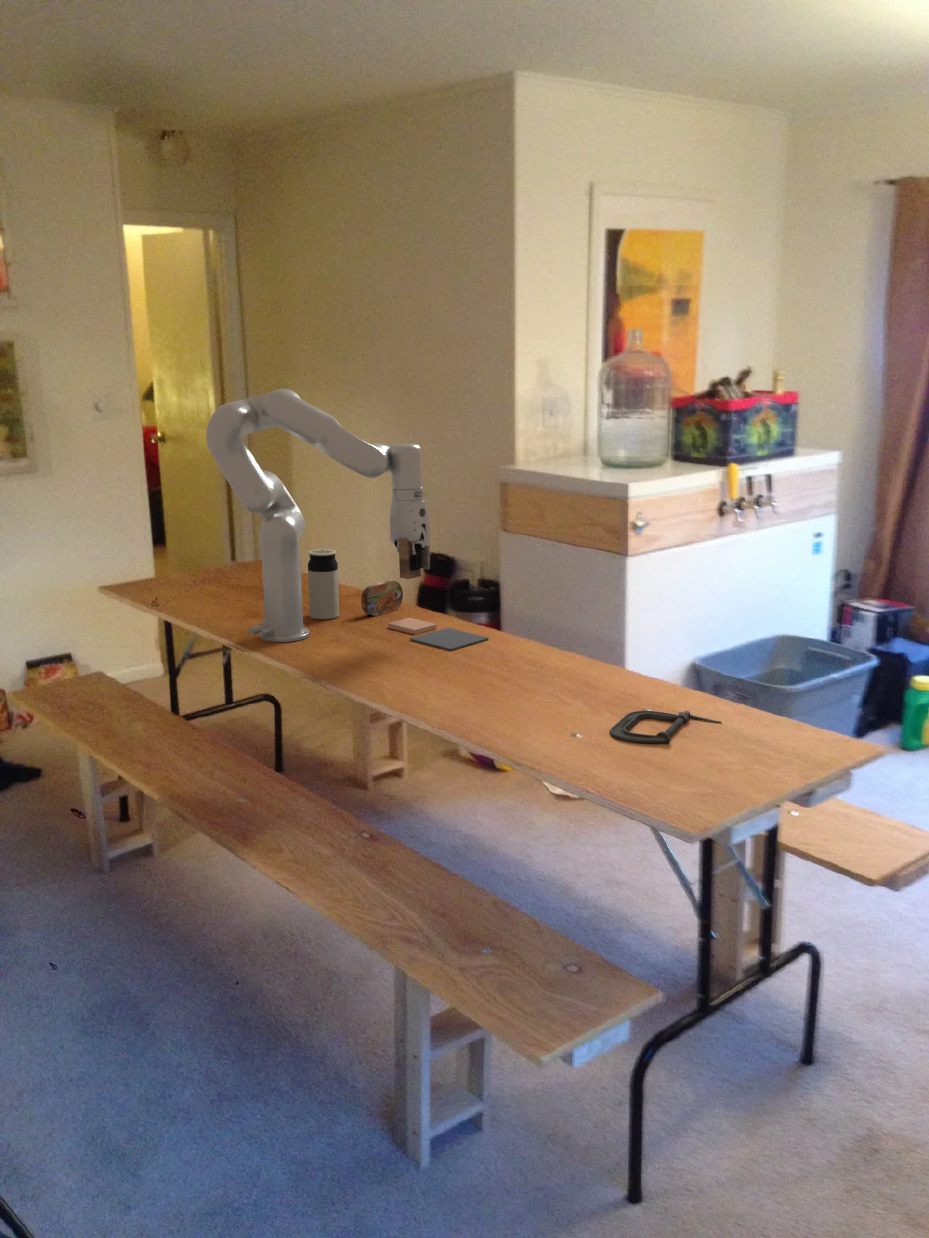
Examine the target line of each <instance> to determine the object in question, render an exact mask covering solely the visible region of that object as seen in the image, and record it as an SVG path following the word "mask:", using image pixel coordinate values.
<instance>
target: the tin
mask: <svg viewBox="0 0 929 1238" xmlns="http://www.w3.org/2000/svg"><path fill="white" fill-rule="evenodd" d="M403 598H404V592H403V588H402V585H401V584H400V583H399V582H398V581H396V580H386V581H382V582H378V583H376V584H375V583H374V584H371V585H369V586H366V587H365V588H364V589H363V592H362V593H361V597H360V599H361V600H360V602H361V608H362V611H363V613H364V614H366V615H368V616H374V617H378V616H381V615H384V614H387V613H391V612H394V611H397V610H398V609H399V608H400V607H401V605H402V602H403Z"/></svg>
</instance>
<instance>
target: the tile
mask: <svg viewBox="0 0 929 1238" xmlns="http://www.w3.org/2000/svg"><path fill="white" fill-rule="evenodd" d="M437 626H438V625H437V623H433V622H429V621H426V620H421V619H418V618H417V619H416V618H413V617H407V618H402V619H399V620H395V621H392V622H391V621H390V622H388V623H387V628H388V629H391V630H396V631H399V632H403V633H407V634H410V635H418V634H422V633H426V632H430V631H433V630H432V629H434V630H437V629H436V628H438V627H437ZM429 630H430V631H429Z"/></svg>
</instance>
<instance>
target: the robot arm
mask: <svg viewBox="0 0 929 1238" xmlns="http://www.w3.org/2000/svg"><path fill="white" fill-rule="evenodd" d="M275 427H276V428H279V429H281V430H283V431H284V432H287V433H288V434H290V435H292V436H293V437H296V438H298V439H300V440H301V441H303V442H304V443H307V444H308V445H309V446H312V447H314V448H316V449H317V450H318V451H320V452H321V453H323V454H324V455H327V456H328V457H329V458H331V459H332V460H334V461H335V462H338V463H339V464H341V465H342V466H344V467H346V468H348V469H350V470H351V471H354V472H355V473H357V474H358V475H360V476H361V475H362V476H363V477H366V478H368V479H369V478H370V479H376V478H379V477H381V476H383V475H384V474H385V473H390V475H391V491H392V492H391V493H392V494H391V497H392V499H391V501H390V514H389V532H390V536H389V538H388V539H389V541H390V542H391V543H392V544H393V545H394V546H395V548H396V552H397V553H398V554H399V540H398V538H404V539H408V541H409V542H411V551H412V554H411V555H410V567H411V570H412V571H414V570H418V569H421V570H422V568H421V553H422V552H423V550H424V548H425V547H427V546H429V547H430V546H431V541H430V539H431V525H430V524H431V523H430V516H429V510H428V505H427V502H426V500H424V498H425V495H426V493H425V492H424V485H423V484H424V482H423V481H424V480H423V455H422V453H423V452H422V448H421V446H420V445H419V444H417V443H399V444H387V443H379V442H378V443H377V442H376V443H375V442H373V443H371V444H370V443H368V442H367V441H365V440H362V439H361V438H359V437H358V436H355V434H353V433H351V432H350V431H348V430H347V429H345V428H344V427H343V426H342V425H341V424H340V423H339V422H338V420H337V419H336V418H335V417H333V416H332V415H331V414H329V413H327V412H326V411H324V410H322V409H320V408H317V407H316V406H314V405H312V404H310V403H308V401H307V402H306V401H305V400H303V399H301V396H299V394H298V393H296V392H295V391H294V390H291V389H290V388H279V389H275V390H272V391H270V392H267V393H263V394H259V395H256V396H252V397H248V398H243V399H239V400H235V401H234V400H233V401H230V402H229V401H228V402H226V403H224V404H222V405H221V406H218V408H217V409H216V410H215V411H214V412H213V413H212V415H211V416H210V419H209V421H208V423H207V426H206V431H205V432H206V433H205V434H206V435H205V438H206V444H207V448H208V450H209V453H210V454H211V456H212V458H213V460H214V461H215V463H216V465H217V467H218V468H219V469H220V471H221V472H222V474H223V476H224V478H225V480H226V481H227V483H228V484H229V486H230V487H231V489H232V491H233V492H234V494H235V495H236V497H237V499H238V500H239V502H240V503H241V506H243V507H244V508H245V509H246V510H247V511H249V512H251V513H253V514H254V513H255V514H258V515H259V517H261V520H262V523H261V525H260V527H259V534H258V538H259V539H258V541H259V547H260V555H261V564H262V565H261V566H262V567H261V568H262V569H261V570H262V585H263V607H264V608H263V611H264V619H261V620H260V621H261V622H260V624H259V625H256V626H250V627H249V630H248V632H249V634H250V635H251V636H253V635H258V634H259V636H258V637H259V638H260V639H261V640H263V641H266V642H267V641H268V642H273V643H274V642H275V643H290V642H297V641H301V640H305V639H307V638H309V636H310V633H311V632H310V630H309V629H308V628H307V627H305V626H304V613H303V611H304V610H303V607H304V605H303V584H302V583H303V582H302V581H303V580H302V579H303V578H302V565H301V564H302V563H301V552H300V540H301V539H302V537H303V536H304V534H305V532H306V521H305V520H306V519H305V518H304V516H303V515H304V514H303V513H302V512H301V510H300V508H299V507H298V505H297V504H296V501H295V500H294V499H293V497H292V496H291V494H290V492H289V491H288V489H287V488H286V486H285V485H284V483H283V482H282V480H281V479H280V478H279V477H278V476H277V475H276V474H275V473H273V472H271V471H269V470H263V469H262V468H261V466H260V465H259V464H258V462H257V460H256V458H255V457H254V455H253V453H252V452H251V451H250V450H249V448H248V447H247V446H246V444H245V442H244V440H243V437H244V436H246V435H249V434H253V433H256V432H259V431H264V430H268V429H272V428H275ZM416 544H417V547H416Z"/></svg>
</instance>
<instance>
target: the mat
mask: <svg viewBox="0 0 929 1238" xmlns="http://www.w3.org/2000/svg"><path fill="white" fill-rule="evenodd" d="M488 639H489V640H490V637H487V636H483V635H480V634H475V633H470V632H467V631H463V630H458V629H456V628H455V629H454V628H451V627H446V628H443V629H439V630H436V631H431V632H428V633H425V634H421V635H418V636H413V637H411V638H409V641H412V642H416V643H420V644H422V645H426V646H431V647H435V648H437V649H438V648H439V649H441V650H446V651H450V652H452V651H453V652H454V651H455V650H459V649H462V648H466V647H469V646H472V645H475V644H479V643H481V642H482V641H483V642H486V641H489V640H488ZM485 640H486V641H485Z"/></svg>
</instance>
